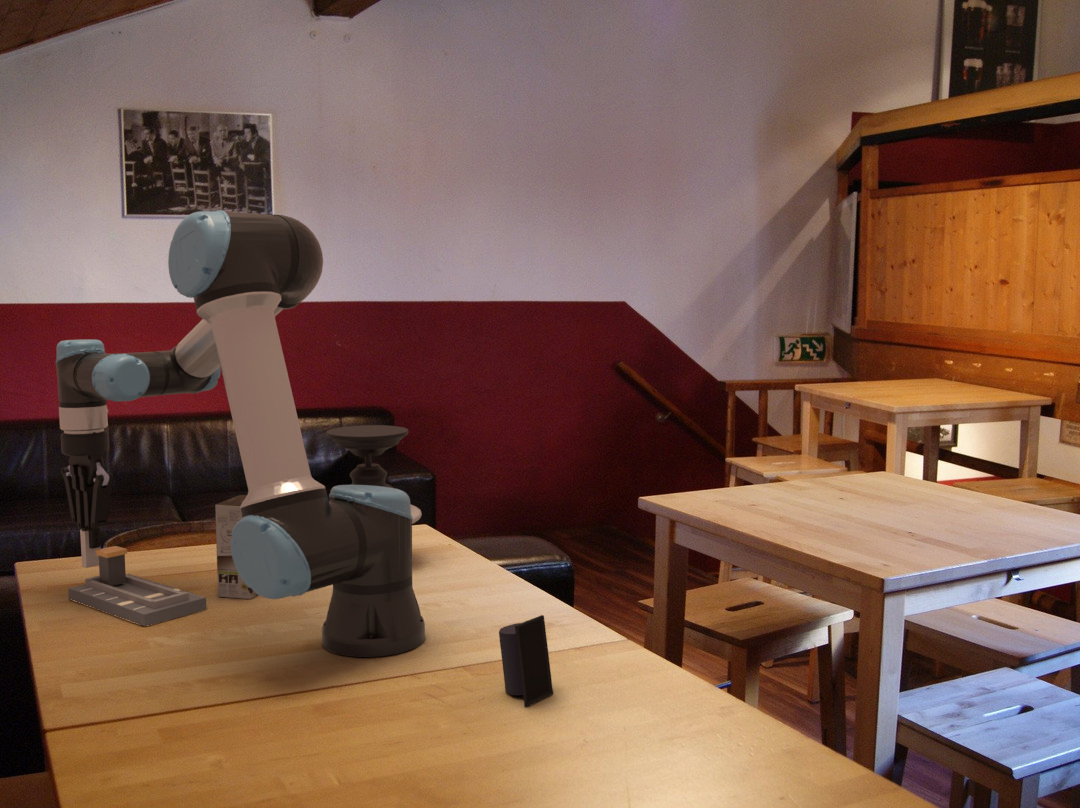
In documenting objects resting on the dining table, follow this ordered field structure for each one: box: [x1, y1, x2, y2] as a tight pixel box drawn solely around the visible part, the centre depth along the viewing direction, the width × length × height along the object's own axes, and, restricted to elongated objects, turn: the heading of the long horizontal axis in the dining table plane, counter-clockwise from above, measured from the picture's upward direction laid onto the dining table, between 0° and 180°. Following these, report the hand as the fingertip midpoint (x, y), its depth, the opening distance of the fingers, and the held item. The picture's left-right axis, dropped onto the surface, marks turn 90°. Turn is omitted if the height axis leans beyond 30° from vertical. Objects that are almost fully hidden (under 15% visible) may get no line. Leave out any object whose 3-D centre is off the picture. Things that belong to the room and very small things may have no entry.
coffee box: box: [214, 494, 259, 600], centre depth 179 cm, size 9×6×16 cm
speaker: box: [498, 614, 554, 708], centre depth 135 cm, size 8×6×10 cm
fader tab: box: [96, 545, 128, 586], centre depth 176 cm, size 4×4×6 cm
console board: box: [67, 573, 208, 627], centre depth 172 cm, size 23×11×3 cm, turn 52°
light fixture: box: [326, 424, 423, 525], centre depth 196 cm, size 20×20×25 cm
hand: (91, 565), depth 180 cm, fingers closed
